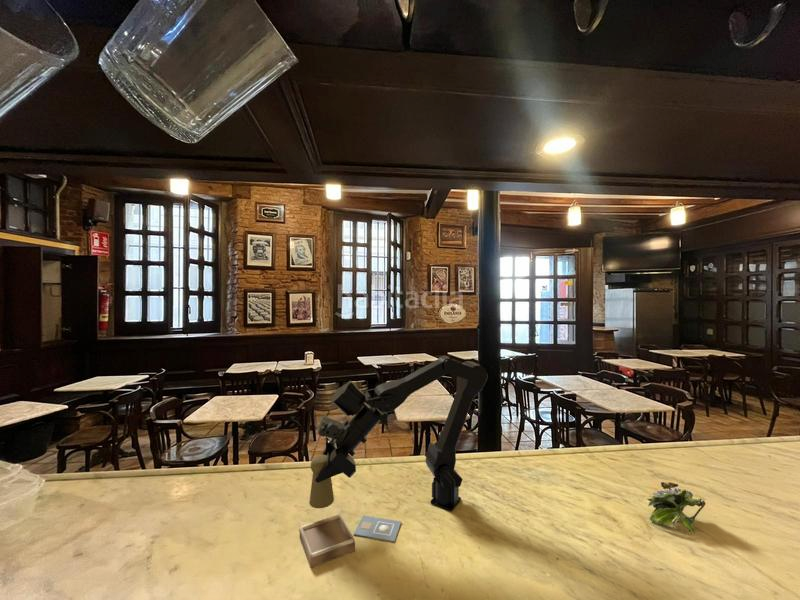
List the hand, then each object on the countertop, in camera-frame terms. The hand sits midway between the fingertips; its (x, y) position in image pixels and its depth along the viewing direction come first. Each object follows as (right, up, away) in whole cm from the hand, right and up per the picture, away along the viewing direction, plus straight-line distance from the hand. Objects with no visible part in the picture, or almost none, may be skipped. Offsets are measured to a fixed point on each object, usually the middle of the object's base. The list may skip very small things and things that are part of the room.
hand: (315, 475), depth 86 cm
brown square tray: (+4, -12, -6) cm, 15 cm away
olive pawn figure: (+1, -7, +1) cm, 7 cm away
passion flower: (+90, -13, +1) cm, 91 cm away
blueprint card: (+15, -12, -1) cm, 20 cm away
